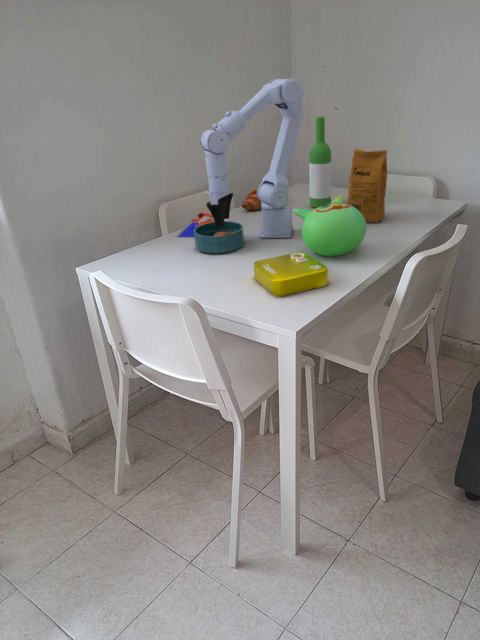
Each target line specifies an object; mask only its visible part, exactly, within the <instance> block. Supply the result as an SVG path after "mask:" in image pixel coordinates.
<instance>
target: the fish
mask: <svg viewBox="0 0 480 640" xmlns="http://www.w3.org/2000/svg"><path fill="white" fill-rule="evenodd" d="M196 217H197V218H193V219H191V223H190V224H189V225H188V226H187V227H186V228H185V229H184V230H183V231H182V232H181V233H180V234H179V235H178V236H177V237H178V238H195V236H194V229H195V228H196V227H198V226H200V225H203V224H206V223H211V222H214V219H213V216H212V214H211V213H209V212H208V211H204V210H202V211H200V212H199V213H198V214H197V215H196Z"/></svg>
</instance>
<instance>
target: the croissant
mask: <svg viewBox="0 0 480 640" xmlns="http://www.w3.org/2000/svg"><path fill="white" fill-rule="evenodd" d="M257 189H258V188H255V189H253V190H250V191H249V192H248V194H247V196H246V198H245V200H244V201H243V202H242V204H241V207H242V209H244V210H247V211H248V210H249V211H258V210H262V207H261V201H260V200H259V199H258V197H257Z"/></svg>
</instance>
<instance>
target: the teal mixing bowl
mask: <svg viewBox="0 0 480 640" xmlns="http://www.w3.org/2000/svg"><path fill="white" fill-rule="evenodd" d="M217 232H234V233H232V234H228V235H223V236H214V234H215V233H217ZM194 236H195V237H194V243H195V249H196V250H198V251H199V252H201V253H205V254H211V255H212V254H215V255H216V254H227V253H231V252H234V251H236V250H239V249H240V248H242V247H243V246H244V245H245V232H244V226H243V224H242V223H240V222H236V221H233V220H232V221H230V220H224V226H223V227H216V224H215V222H214V221H213V222H211V223H206V224H203V225H200V226H198V227H196V228H195V229H194Z"/></svg>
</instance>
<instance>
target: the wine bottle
mask: <svg viewBox="0 0 480 640" xmlns="http://www.w3.org/2000/svg"><path fill="white" fill-rule="evenodd" d="M325 120H326V119H325V116H316V117H315V143H314V144H313V145H312V146H311V147H310V149H309V152H308V153H309V155H308V157H309V159H308V161H309V163H308V166H309V169H308V170H309V172H308V173H309V205H310V206H311V207H312V208H315V209H316V208H318V207H320V206H323V205H327V204H331V203H332V150H331V148H330V145H328V144H327V143H326V139H325V138H326V137H325V135H326V133H325V130H326V129H325V122H326V121H325Z"/></svg>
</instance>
